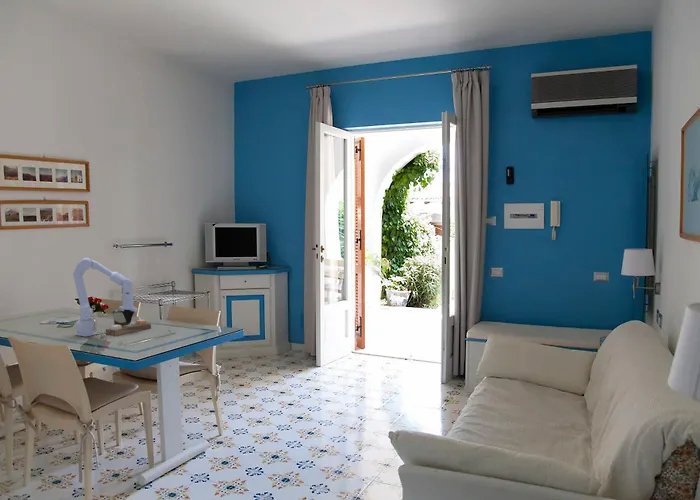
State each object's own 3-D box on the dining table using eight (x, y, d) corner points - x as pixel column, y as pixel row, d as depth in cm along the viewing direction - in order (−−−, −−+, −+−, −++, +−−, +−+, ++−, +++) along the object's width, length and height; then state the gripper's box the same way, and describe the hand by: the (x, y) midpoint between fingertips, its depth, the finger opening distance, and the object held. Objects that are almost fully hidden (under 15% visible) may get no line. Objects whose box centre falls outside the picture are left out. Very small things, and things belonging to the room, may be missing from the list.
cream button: (111, 331, 326) (110, 325, 326) (117, 330, 329) (116, 324, 329) (115, 332, 324) (115, 326, 324) (121, 331, 327) (121, 325, 327)
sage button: (123, 331, 333) (123, 325, 333) (129, 330, 337) (129, 324, 336) (128, 332, 331) (128, 326, 331) (134, 330, 335) (133, 325, 334)
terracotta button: (136, 326, 340) (135, 320, 340) (141, 325, 344) (141, 319, 344) (140, 327, 338) (140, 321, 338) (146, 325, 342) (145, 320, 341)
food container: (136, 324, 354) (135, 308, 354) (131, 326, 348) (130, 310, 348) (117, 324, 356) (116, 308, 355) (112, 326, 349) (111, 310, 349)
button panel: (106, 334, 326) (105, 329, 326) (141, 326, 346) (141, 322, 346) (115, 336, 321) (115, 330, 321) (151, 328, 342) (150, 323, 341)
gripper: (141, 299, 332) (142, 322, 333) (125, 297, 340) (126, 320, 341) (131, 301, 326) (132, 324, 327) (115, 299, 334) (116, 322, 335)
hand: (128, 322), depth 334 cm, fingers closed
